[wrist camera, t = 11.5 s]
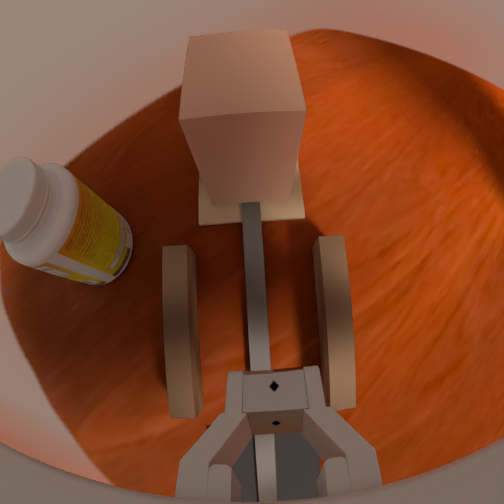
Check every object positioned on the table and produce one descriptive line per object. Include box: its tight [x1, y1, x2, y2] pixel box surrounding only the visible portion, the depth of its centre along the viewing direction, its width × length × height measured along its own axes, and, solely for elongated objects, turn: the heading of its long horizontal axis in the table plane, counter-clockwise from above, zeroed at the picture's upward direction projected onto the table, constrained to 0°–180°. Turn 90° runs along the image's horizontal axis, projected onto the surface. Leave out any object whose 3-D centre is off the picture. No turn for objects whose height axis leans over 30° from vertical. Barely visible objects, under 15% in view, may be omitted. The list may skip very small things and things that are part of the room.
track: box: [162, 202, 356, 502], centre depth 17 cm, size 28×10×2 cm, turn 3°
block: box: [179, 30, 306, 205], centre depth 16 cm, size 6×5×9 cm
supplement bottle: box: [0, 157, 133, 285], centre depth 15 cm, size 6×6×10 cm
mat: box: [199, 159, 305, 226], centre depth 21 cm, size 7×7×1 cm
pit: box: [232, 432, 320, 502], centre depth 16 cm, size 7×7×1 cm
